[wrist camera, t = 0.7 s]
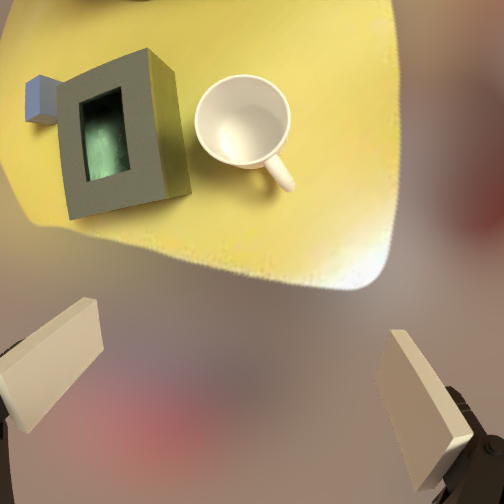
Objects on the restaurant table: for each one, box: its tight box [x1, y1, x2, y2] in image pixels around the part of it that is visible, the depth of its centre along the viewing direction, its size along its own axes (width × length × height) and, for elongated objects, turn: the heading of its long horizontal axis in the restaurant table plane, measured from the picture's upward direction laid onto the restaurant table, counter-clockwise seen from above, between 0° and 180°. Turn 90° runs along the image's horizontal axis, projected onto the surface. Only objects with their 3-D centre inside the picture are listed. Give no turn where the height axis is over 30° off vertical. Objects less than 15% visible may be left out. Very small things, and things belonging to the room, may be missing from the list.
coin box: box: [56, 48, 192, 220], centre depth 31 cm, size 16×12×9 cm
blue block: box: [25, 75, 63, 125], centre depth 32 cm, size 6×3×6 cm, turn 9°
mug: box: [194, 74, 295, 192], centre depth 30 cm, size 12×8×10 cm
